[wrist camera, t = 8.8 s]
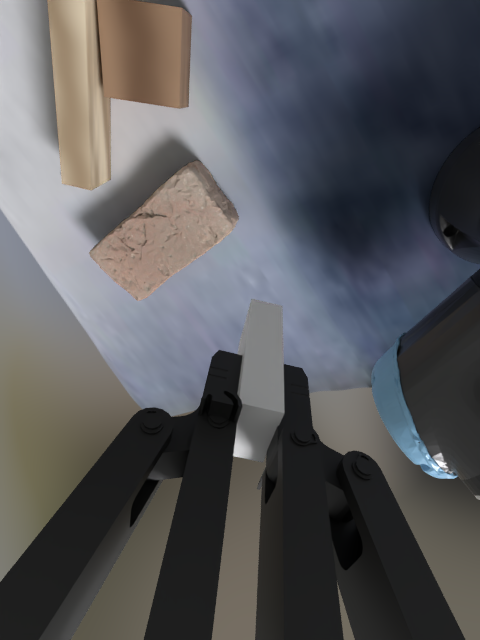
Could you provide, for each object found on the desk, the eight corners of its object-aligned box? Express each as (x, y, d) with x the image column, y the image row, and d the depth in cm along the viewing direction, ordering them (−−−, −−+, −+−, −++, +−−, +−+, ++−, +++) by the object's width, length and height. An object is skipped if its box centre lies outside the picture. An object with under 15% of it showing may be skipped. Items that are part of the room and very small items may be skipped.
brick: (195, 154, 38) (186, 162, 34) (243, 216, 41) (239, 229, 37) (101, 241, 45) (84, 255, 41) (148, 288, 48) (137, 306, 44)
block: (192, 16, 31) (182, 7, 28) (188, 106, 35) (179, 108, 32) (115, 4, 31) (96, -6, 28) (120, 96, 35) (104, 96, 32)
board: (109, -90, 28) (80, -120, 24) (110, 179, 40) (91, 190, 36) (72, -100, 28) (36, -132, 24) (84, 173, 40) (61, 183, 36)
